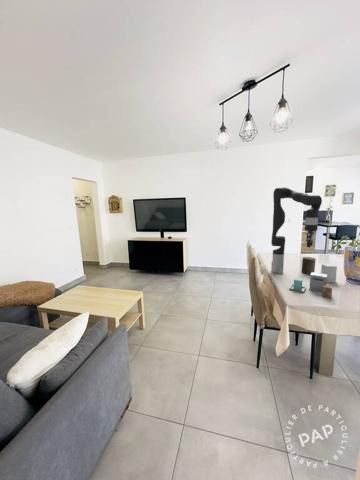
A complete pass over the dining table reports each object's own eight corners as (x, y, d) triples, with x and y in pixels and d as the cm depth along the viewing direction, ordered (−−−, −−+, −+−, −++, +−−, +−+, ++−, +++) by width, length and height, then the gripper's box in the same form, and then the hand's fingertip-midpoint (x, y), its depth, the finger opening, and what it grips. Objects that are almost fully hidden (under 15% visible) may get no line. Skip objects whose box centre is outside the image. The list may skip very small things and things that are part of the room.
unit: (309, 289, 137) (310, 274, 135) (311, 286, 143) (312, 271, 141) (325, 292, 131) (326, 277, 130) (326, 289, 137) (327, 274, 135)
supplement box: (335, 282, 149) (337, 266, 147) (325, 282, 150) (326, 266, 148) (330, 279, 156) (331, 263, 154) (320, 278, 157) (321, 263, 155)
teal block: (293, 288, 138) (293, 279, 137) (294, 286, 141) (295, 277, 140) (300, 290, 135) (301, 280, 134) (301, 288, 138) (302, 279, 137)
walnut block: (322, 297, 125) (323, 286, 124) (323, 294, 129) (323, 284, 128) (331, 298, 123) (331, 288, 121) (331, 296, 126) (332, 286, 125)
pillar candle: (302, 274, 169) (304, 257, 167) (300, 270, 178) (301, 255, 175) (315, 275, 165) (317, 258, 163) (312, 271, 174) (314, 255, 172)
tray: (289, 289, 138) (289, 288, 138) (291, 285, 145) (292, 284, 144) (303, 293, 132) (303, 291, 132) (306, 288, 139) (306, 287, 138)
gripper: (316, 224, 129) (314, 248, 131) (318, 223, 140) (317, 245, 142) (303, 224, 134) (301, 247, 136) (306, 223, 144) (305, 244, 147)
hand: (309, 246), depth 139 cm, fingers open, 8 cm apart
